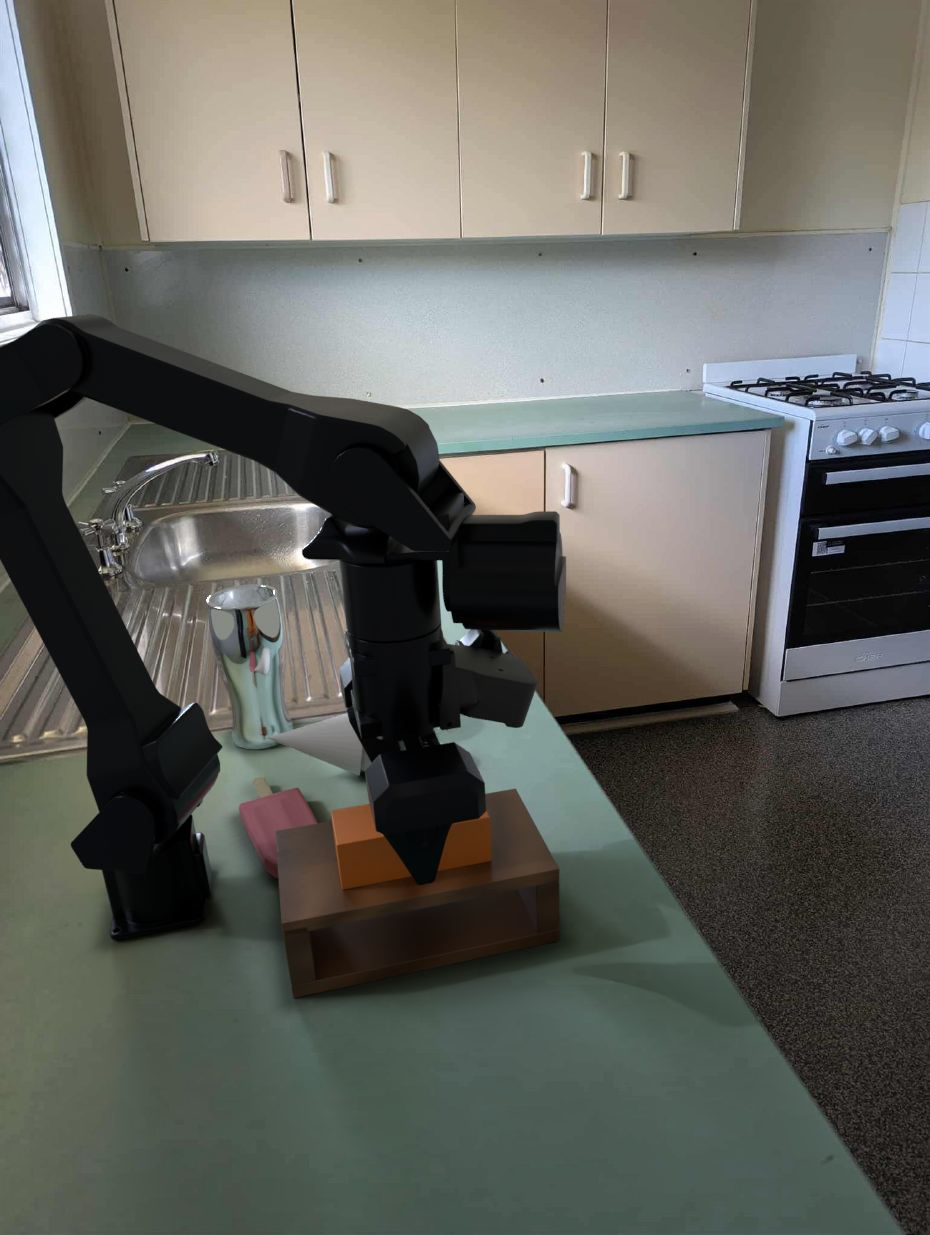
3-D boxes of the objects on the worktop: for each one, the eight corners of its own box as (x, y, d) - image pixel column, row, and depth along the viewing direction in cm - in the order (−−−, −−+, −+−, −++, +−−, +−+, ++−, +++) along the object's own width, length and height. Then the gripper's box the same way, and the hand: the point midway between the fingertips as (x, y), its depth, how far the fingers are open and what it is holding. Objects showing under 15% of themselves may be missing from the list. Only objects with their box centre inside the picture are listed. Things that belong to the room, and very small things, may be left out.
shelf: (293, 998, 56) (281, 923, 54) (285, 898, 65) (275, 830, 63) (560, 941, 59) (559, 868, 57) (517, 853, 69) (515, 788, 66)
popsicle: (285, 763, 80) (337, 851, 67) (287, 778, 80) (339, 868, 68) (227, 779, 78) (268, 874, 65) (229, 794, 78) (271, 891, 66)
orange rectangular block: (342, 890, 56) (336, 845, 55) (335, 853, 60) (330, 810, 59) (491, 861, 58) (489, 817, 57) (477, 827, 62) (474, 784, 61)
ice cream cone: (265, 776, 81) (426, 782, 83) (261, 766, 75) (435, 773, 77) (270, 711, 82) (428, 718, 85) (267, 696, 77) (436, 705, 79)
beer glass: (214, 746, 87) (188, 605, 81) (253, 714, 93) (232, 580, 87) (274, 756, 84) (252, 612, 78) (311, 723, 90) (293, 586, 84)
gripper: (574, 667, 46) (574, 906, 52) (483, 562, 63) (492, 751, 69) (363, 699, 44) (388, 945, 49) (328, 582, 61) (350, 775, 66)
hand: (412, 839), depth 59 cm, fingers open, 9 cm apart
